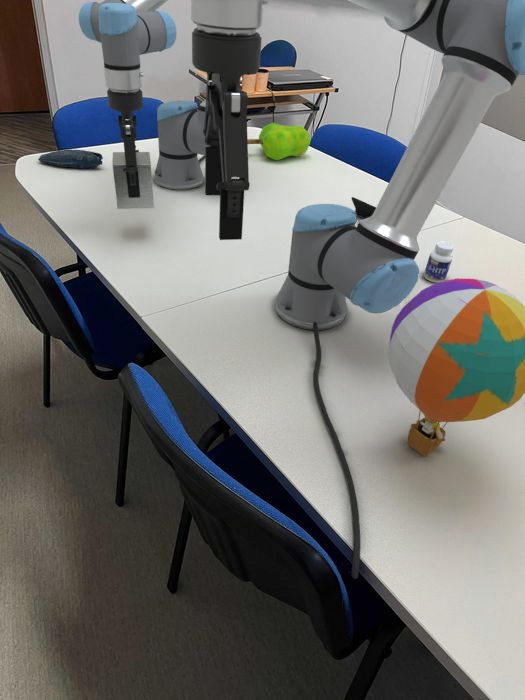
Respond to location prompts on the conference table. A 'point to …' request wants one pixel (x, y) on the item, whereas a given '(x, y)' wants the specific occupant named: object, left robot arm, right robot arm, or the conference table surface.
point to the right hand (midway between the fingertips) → (222, 215)
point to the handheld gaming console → (363, 208)
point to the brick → (144, 181)
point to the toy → (458, 355)
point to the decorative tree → (282, 141)
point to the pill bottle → (439, 262)
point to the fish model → (72, 158)
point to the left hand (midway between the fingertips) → (134, 189)
